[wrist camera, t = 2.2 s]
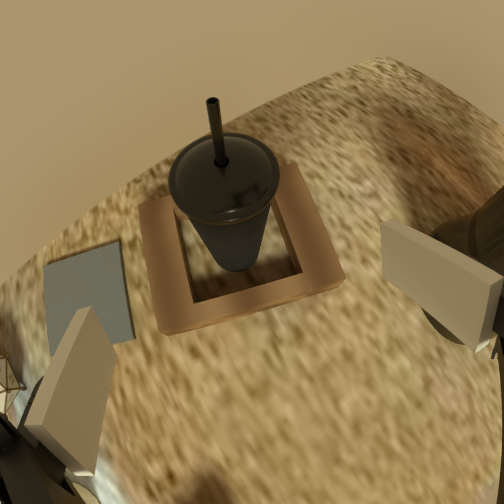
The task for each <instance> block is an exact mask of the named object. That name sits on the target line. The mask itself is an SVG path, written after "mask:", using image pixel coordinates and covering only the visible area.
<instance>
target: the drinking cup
mask: <svg viewBox="0 0 504 504" xmlns="http://www.w3.org/2000/svg"><path fill="white" fill-rule="evenodd" d="M206 105H207V111H208V117H209V123H210V129H211V135H208V136H205V137H203V138H200V139H198V140H196V141H194V142H193V143H191V144H190V145H188V146H187V147H186V148H185V149H183V150H182V151H181V152H180V154H179V155H178V156H177V157H176V159H175V160H174V162H173V164H172V166H171V169H170V173H169V178H168V185H169V191H170V194H171V197H172V199H173V201H174V203H175V204H176V206H177V207H178V208H179V209H180V210H181V211H182V212H183V213H184V214H186V215H187V216H188V218H189V220H190V221H191V223H192V224H193V226H194V227H195V229H196V231H197V232H198V234H199V235H200V237H201V239H202V240H203V242H204V243H205V245H206V246H207V248H208V250H209V251H210V253H211V254H212V256H213V257H214V259H215V260H216V262H217V263H218V265H219V266H221V267H222V268H223V269H225V270H228V271H232V272H239V271H243V270H246V269H248V268H249V267H251V266H252V265H253V264H254V263H255V261H256V260H257V257H258V254H259V250H260V246H261V242H262V238H263V233H264V229H265V225H266V221H267V217H268V213H269V209H270V204H271V201H272V200H273V198H274V197H275V195H276V193H277V190H278V187H279V182H280V168H279V164H278V161H277V159H276V157H275V156H274V154H273V153H272V151H271V150H270V149H269V148H268V147H267V146H266V145H265V144H264V143H262V142H261V141H259V140H257V139H255V138H253V137H251V136H248V135H244V134H240V133H223V128H222V122H221V114H220V105H219V99H217V98H215V97H211V98H209V99H207V101H206Z"/></svg>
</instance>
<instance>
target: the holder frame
mask: <svg viewBox="0 0 504 504" xmlns="http://www.w3.org/2000/svg"><path fill="white" fill-rule="evenodd" d="M279 168H280V182H279V187H278V190H277V193H276V195H275V197H274V198H273V200H272V201H271V206H272V209H273V211H274V214H275V217H276V220H277V222H278V225H279V228H280V230H281V233H282V236H283V238H284V241H285V244H286V247H287V249H288V252H289V255H290V258H291V260H292V263H293V266H294V269H295V272H296V274H297V275H294V276H290V277H287V278H283V279H280V280H277V281H273V282H270V283H266V284H263V285H259V286H256V287H253V288H249V289H245V290H242V291H238V292H235V293H231V294H228V295H224V296H221V297H217V298H213V299H210V300H206V301H202V302H199V303H197V299H196V295H195V291H194V287H193V283H192V279H191V274H190V270H189V266H188V261H187V257H186V252H185V248H184V243H183V238H182V234H181V229H180V224H179V221H182V220H185V219H189V218H188V216H187V215H186V214H184V213H183V212H182V211H181V210H180V209H179V208H178V207H177V206H176V204H175V203H174V201H173V199H172V197H171V195H168V196H164V197H161V198H158V199H154V200H151V201H148V202H144V203H141V204H138V210H139V218H140V225H141V233H142V240H143V247H144V253H145V259H146V266H147V272H148V277H149V283H150V288H151V294H152V299H153V304H154V309H155V314H156V319H157V324H158V328H159V332H160V333H163V334H165V335H167V336H171V335H175V334H179V333H183V332H187V331H191V330H194V329H198V328H202V327H206V326H210V325H213V324H217V323H221V322H224V321H228V320H232V319H235V318H239V317H242V316H246V315H249V314H253V313H256V312H260V311H263V310H266V309H270V308H273V307H277V306H280V305H283V304H286V303H290V302H293V301H296V300H299V299H303V298H306V297H309V296H312V295H315V294H318V293H321V292H324V291H328V290H331V289H334V288H337V287H339V286H340V284H341V283H342V282H343V281H344V280H345V278H346V277H345V275H344V272H343V270H342V267H341V265H340V262H339V260H338V257H337V255H336V252H335V250H334V248H333V245H332V243H331V240H330V238H329V236H328V233H327V231H326V228H325V226H324V224H323V221H322V219H321V217H320V214H319V212H318V210H317V208H316V205H315V203H314V201H313V199H312V196H311V194H310V192H309V190H308V188H307V185H306V183H305V181H304V179H303V177H302V175H301V172H300V170H299V168H298V166H297V164H296V163H293V164H288V165H284V166H279Z"/></svg>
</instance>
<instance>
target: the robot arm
mask: <svg viewBox="0 0 504 504" xmlns="http://www.w3.org/2000/svg"><path fill="white" fill-rule="evenodd" d="M380 231H381V247H382V270H383V277H384V278H386V279H387V280H388V281H390V282H391V283H392V284H393V285H395V286H396V287H397V288H398V289H400V290H401V291H402V292H403V293H405V294H406V295H407V296H408V297H410V298H411V299H412V300H413V301H414V302H416V303H417V304H418V305H419V306H421V307H422V309H423V311H424V313H425V315H426V316H427V318H428V320H429V321H430V323H431V324H432V325H433V327H434V328H435V329H436V330H437V331H438V332H439V333H440V334H441V335H442V336H444V337H445V338H447V339H448V340H450V341H452V342H454V343H457V344H462V345H466V346H467V347H469V348H470V349H471V350H472V351H473V352H474V353H476V352H478V351H479V350H481V349H482V348H483V347H485V346H486V345H488V344H489V340H490V339H491V338H493V337H495V336H496V335H497V334H498V336H497V339H496V343H495V346H494V349H493V352H492V356H491V359H494V357H495V354H496V353H497V354H498V358H497V359H498V362H499V371H500V382H501V397H502V456H501V470H500V481H499V489H498V497H497V504H504V185H503V186H502V187H501V188H500V189H499V190H498V191H497V192H496V193H495V194H494V195H493V196H492V197H491V198H490V199H489V200H488V201H487V202H486V203H485V204H484V205H483V206H482V207H481V208H480V209H479V210H478V211H477V212H475V213H472V214H469V215H465V216H462V217H459V218H456V219H452V220H449V221H447V222H445V223H443V224H441V225H440V226H438V227H437V228H436V229H435V230H434V231H433V232H432V233H431V234H430V235H429V236H428V235H426V234H424V233H422V232H420V231H418V230H416V229H414V228H411V227H409V226H407V225H405V224H403V223H401V222H399V221H397V220H395V219H391V220H388V221H384V222H381V223H380ZM116 359H117V353H116V351H115V350H114V348H113V346H112V344H111V343H110V341H109V339H108V337H107V335H106V333H105V331H104V330H103V328H102V326H101V324H100V322H99V320H98V318H97V316H96V314H95V312H94V310H93V308H92V306H89V307H85V308H81V309H78V310H77V311H76V313H75V315H74V317H73V318H72V320H71V322H70V324H69V326H68V328H67V330H66V332H65V334H64V336H63V338H62V340H61V342H60V344H59V346H58V348H57V350H56V352H55V354H54V356H53V358H52V360H51V362H50V364H49V367H48V369H47V371H46V373H45V375H44V376H43V377H42V378H41V379H40V380H39V381H38V383H37V384H36V385H35V387H34V389H33V392H32V394H31V397H30V399H29V401H28V405H27V406H26V408H25V410H24V413H23V415H22V418H21V420H20V423H19V426H18V428H17V429H16V428H15V427H14V426H13V425H12V423H11V422H10V421H9V420H8V419H7V418H6V417H5V415H4V414H1V413H0V501H1V504H86V503H85V502H84V500H83V499H82V497H81V496H80V494H79V493H78V491H77V490H76V488H75V487H74V485H73V484H72V482H71V481H70V480H69V478H68V477H66V476H65V475H64V474H65V469H66V467H67V468H68V469H69V470H70V471H71V472H73V473H74V474H75V475H76V476H94V475H95V468H96V461H97V454H98V447H99V441H100V435H101V429H102V424H103V419H104V413H105V408H106V403H107V398H108V394H109V389H110V384H111V380H112V375H113V371H114V367H115V363H116Z"/></svg>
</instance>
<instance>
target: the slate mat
mask: <svg viewBox="0 0 504 504" xmlns="http://www.w3.org/2000/svg"><path fill="white" fill-rule="evenodd" d="M44 296H45V311H46V323H47V333H48V341H49V349H50V356H54V354H55V352H56V350H57V348H58V346H59V344H60V342H61V340H62V338H63V336H64V334H65V332H66V330H67V328H68V326H69V324H70V322H71V320H72V318H73V317H74V315H75V313H76V311H77V310H78V309H81V308H85V307H89V306H92V308H93V310H94V312H95V314H96V316H97V318H98V320H99V322H100V324H101V326H102V328H103V330H104V331H105V333H106V335H107V337H108V339H109V341H110V343H111V344H116V343H120V342H125V341H129V340H133V339H136V337H135V332H134V326H133V321H132V316H131V310H130V304H129V298H128V292H127V285H126V279H125V271H124V264H123V256H122V247H121V244H120V243H119V242H116V243H113V244H110V245H106V246H103V247H100V248H97V249H94V250H91V251H88V252H85V253H82V254H79V255H76V256H73V257H70V258H67V259H64V260H61V261H58V262H55V263H52V264H49V265H46V266H44Z"/></svg>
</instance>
